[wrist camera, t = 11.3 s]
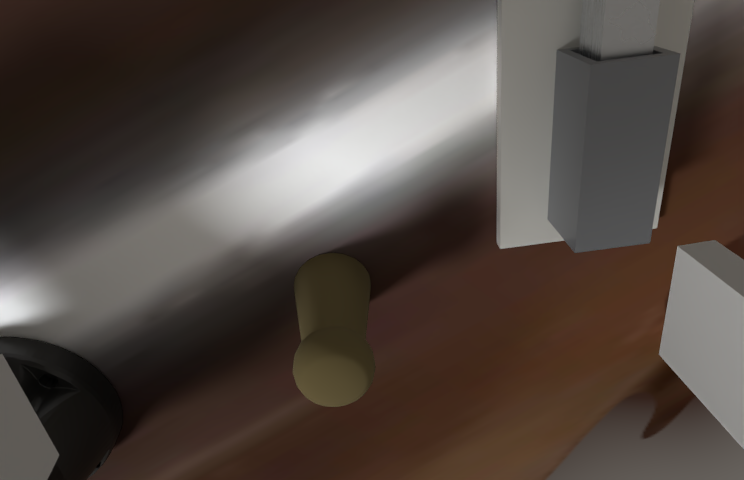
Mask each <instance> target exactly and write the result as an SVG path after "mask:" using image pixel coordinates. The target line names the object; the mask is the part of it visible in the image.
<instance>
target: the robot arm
mask: <svg viewBox="0 0 744 480" xmlns="http://www.w3.org/2000/svg"><path fill="white" fill-rule="evenodd" d="M659 355H660V356H661V357H662V358H663V359H664V361H665V362H666V363H667V364H668V365H669V366H670V367H671V368H672V370H673V371H674V372H675V373H676V374H677V375H678V376H679V377H680V379H681V380H682V381H683V382H684V383H685V384H686V385H687V386H688V387H689V389H690V390H691V391H692V392H693V393H694V394H695V395H696V396H697V398H698V399H699V400H700V401H701V402H702V403H703V404H704V405H705V406H706V407H707V409H708V410H709V411H710V412H711V413H712V414H713V415H714V416H715V418H716V419H717V420H718V421H719V422H720V423H721V424H722V425H723V427H724V428H725V429H726V430H727V431H728V432H729V433H730V434H731V435H732V437H733V438H734V439H735V440H736V441H737V442H738V443H739V444H740V446H741V447H743V449H744V260H743V259H741V258H740V257H739V256H737V255H736V254H734V253H733V252H731V251H730V250H728V249H727V248H726V247H724V246H723V245H721V244H720V243H718V242H717V241H715V240H713V241H707V242H700V243H694V244H688V245H681V246H678V247H677V253H676V259H675V264H674V270H673V276H672V282H671V287H670V293H669V299H668V305H667V311H666V316H665V322H664V328H663V334H662V339H661V345H660V351H659ZM122 421H123V413H122V406H121V403H120V400H119V397H118V395H117V393H116V391H115V390H114V388H113V387H112V385H111V384H110V382H109V381H108V380H107V379H106V378H105V377H104V376H103V375H102V374H101V373H100V372H99V371H98V370H97V369H96V368H95V367H93V366H92V365H91V364H89V363H88V362H87V361H85V360H84V359H82V358H80V357H79V356H77V355H75V354H73V353H71V352H69V351H67V350H65V349H62V348H60V347H57V346H54V345H51V344H48V343H44V342H40V341H36V340H31V339H24V338H14V337H0V480H86V479H87V478H89V477H90V476H91V475H93V474H94V473H95V472H96V471H97V470H98V469H99V468H100V467H101V466H102V465H103V464H104V462H105V461H106V460H107V458H108V456H109V455H110V453H111V451H112V449H113V447H114V445H115V442H116V440H117V438H118V435H119V433H120V430H121V427H122Z"/></svg>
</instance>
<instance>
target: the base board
mask: <svg viewBox="0 0 744 480" xmlns="http://www.w3.org/2000/svg"><path fill="white" fill-rule="evenodd" d="M582 1H583V0H497V244H498V246H499V248H500V249H503V248H511V247H518V246H526V245H533V244H541V243H548V242H556V241H564V239H563V238H562V237H561V235H560V234H559V233H558V232H557V230H556V229H555V228H554V227H553V226H552V224H551V223H550V222H549V221H548V219H547V217H548V199H549V180H550V162H551V144H552V126H553V107H554V89H555V71H556V52H557V50H559V49H567V48H575V47H579V41H580V28H581V14H582ZM694 2H695V0H660V5H659V12H658V19H657V27H656V34H655V41H654V46H657V47H660V48H664V49H667V50H671V51H674V52H677V53H681V54H680V60H679V66H678V72H677V78H676V85H675V91H674V97H673V103H672V109H671V116H670V122H669V128H668V134H667V140H666V147H665V153H664V159H663V165H662V171H661V178H660V184H659V190H658V196H657V202H656V209H655V215H654V221H653V227H652V229H654V228H657V225H658V219H659V213H660V207H661V201H662V195H663V189H664V183H665V177H666V171H667V165H668V159H669V153H670V147H671V141H672V135H673V129H674V123H675V117H676V111H677V104H678V98H679V92H680V86H681V80H682V74H683V68H684V62H685V56H686V50H687V44H688V38H689V32H690V26H691V20H692V14H693V8H694Z"/></svg>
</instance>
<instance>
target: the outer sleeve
mask: <svg viewBox="0 0 744 480" xmlns="http://www.w3.org/2000/svg"><path fill="white" fill-rule="evenodd" d="M680 54H681V53H677V52H674V51H671V50H667V49H664V48H660V47H657V46H654V49H653V54H652V55H644V56H636V57H628V58H621V59H613V60H605V61H594V60H592V59H590V58H587V57H585V56H582V55H580V54H579V47H575V48H567V49H559V50H557V52H556V71H555V89H554V107H553V126H552V144H551V162H550V180H549V199H548V217H547V219H548V221H549V222H550V223H551V224H552V226H553V227H554V228H555V229H556V230H557V232H558V233H559V234H560V235H561V237H562V238H563V239H564V240H565V241H566V243H567V244H568V245H569V246H570V248H571V249H572V250H573V251H574V252H575V253H578V252H586V251H593V250H601V249H608V248H616V247H623V246H631V245H638V244H646V243H650V240H651V233H652V227H653V221H654V215H655V209H656V202H657V196H658V190H659V184H660V178H661V171H662V165H663V159H664V153H665V147H666V140H667V134H668V128H669V122H670V116H671V109H672V103H673V97H674V91H675V85H676V78H677V72H678V66H679V60H680Z"/></svg>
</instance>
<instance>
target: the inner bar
mask: <svg viewBox="0 0 744 480" xmlns="http://www.w3.org/2000/svg"><path fill="white" fill-rule="evenodd" d="M659 5H660V0H583V1H582V14H581V28H580V41H579V54H580V55H582V56H585V57H587V58H590V59H592V60H594V61H605V60H613V59H621V58H628V57H636V56H644V55H652V54H653V49H654V41H655V34H656V27H657V19H658V12H659Z"/></svg>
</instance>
